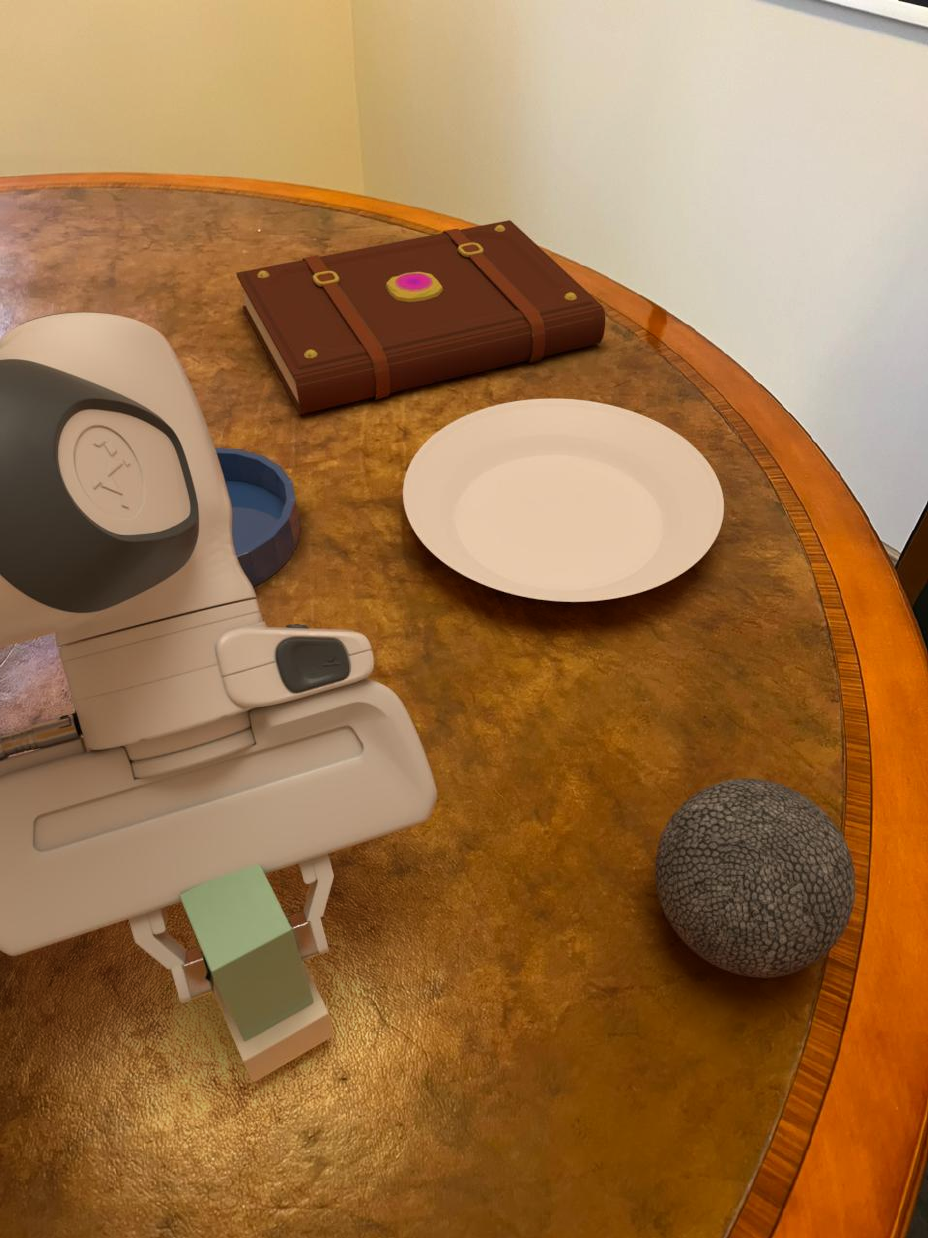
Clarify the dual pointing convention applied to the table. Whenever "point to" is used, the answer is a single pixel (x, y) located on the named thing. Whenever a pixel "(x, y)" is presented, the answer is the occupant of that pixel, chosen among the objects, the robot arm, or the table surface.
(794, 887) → the decorative ball
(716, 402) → the table surface
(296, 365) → the book
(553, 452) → the white dinner plate
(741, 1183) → the table surface
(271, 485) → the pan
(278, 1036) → the green block on base
